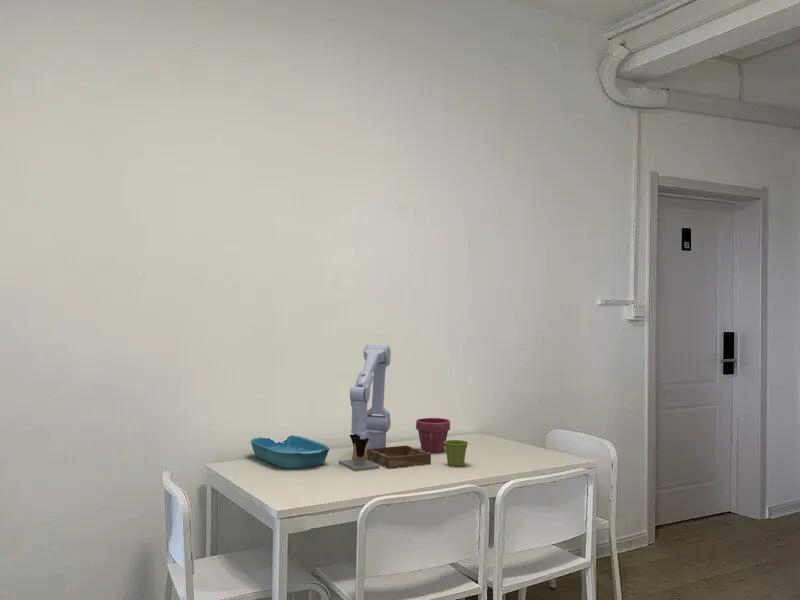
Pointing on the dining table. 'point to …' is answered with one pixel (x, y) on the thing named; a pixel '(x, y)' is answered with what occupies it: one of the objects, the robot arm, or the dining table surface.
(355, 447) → the terracotta pot
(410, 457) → the brown wooden tray
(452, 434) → the dining table surface
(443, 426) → the plant pot
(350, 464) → the slate board
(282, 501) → the dining table surface
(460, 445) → the plant pot
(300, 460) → the casserole dish
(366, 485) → the dining table surface
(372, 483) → the dining table surface
